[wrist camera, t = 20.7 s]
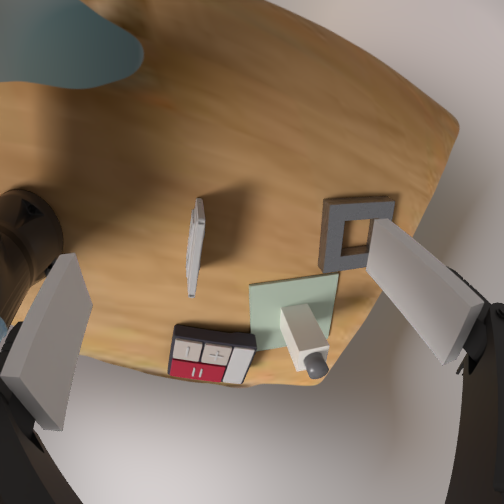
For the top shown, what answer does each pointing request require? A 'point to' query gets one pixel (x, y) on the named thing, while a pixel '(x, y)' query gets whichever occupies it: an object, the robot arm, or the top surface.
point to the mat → (289, 294)
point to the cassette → (195, 246)
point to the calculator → (211, 354)
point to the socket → (333, 230)
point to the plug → (304, 340)
